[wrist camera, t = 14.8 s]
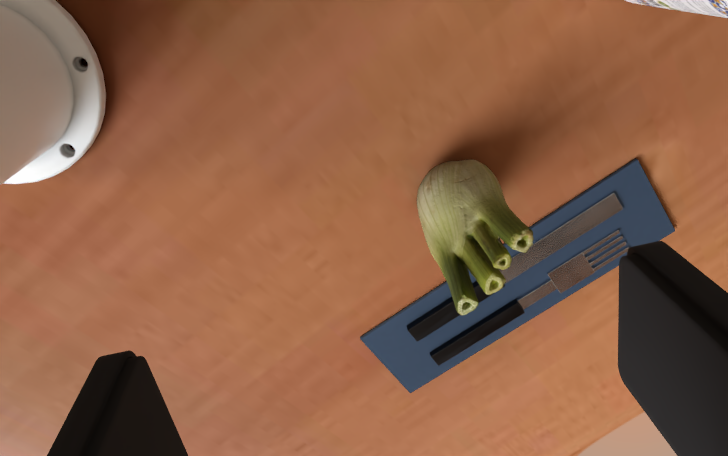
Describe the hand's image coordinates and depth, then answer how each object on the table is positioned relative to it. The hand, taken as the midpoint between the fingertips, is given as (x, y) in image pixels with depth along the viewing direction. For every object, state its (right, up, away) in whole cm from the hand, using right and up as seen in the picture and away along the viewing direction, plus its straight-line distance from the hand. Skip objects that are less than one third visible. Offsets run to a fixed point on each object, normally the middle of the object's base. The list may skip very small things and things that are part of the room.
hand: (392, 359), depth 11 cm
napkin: (+11, -2, +33) cm, 35 cm away
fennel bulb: (+5, +5, +29) cm, 30 cm away
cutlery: (+11, -2, +33) cm, 35 cm away
